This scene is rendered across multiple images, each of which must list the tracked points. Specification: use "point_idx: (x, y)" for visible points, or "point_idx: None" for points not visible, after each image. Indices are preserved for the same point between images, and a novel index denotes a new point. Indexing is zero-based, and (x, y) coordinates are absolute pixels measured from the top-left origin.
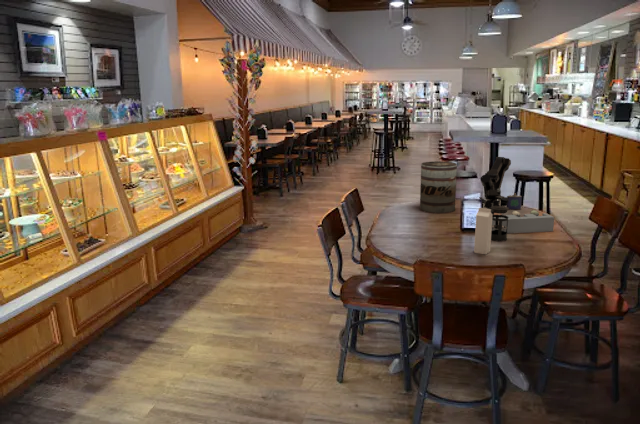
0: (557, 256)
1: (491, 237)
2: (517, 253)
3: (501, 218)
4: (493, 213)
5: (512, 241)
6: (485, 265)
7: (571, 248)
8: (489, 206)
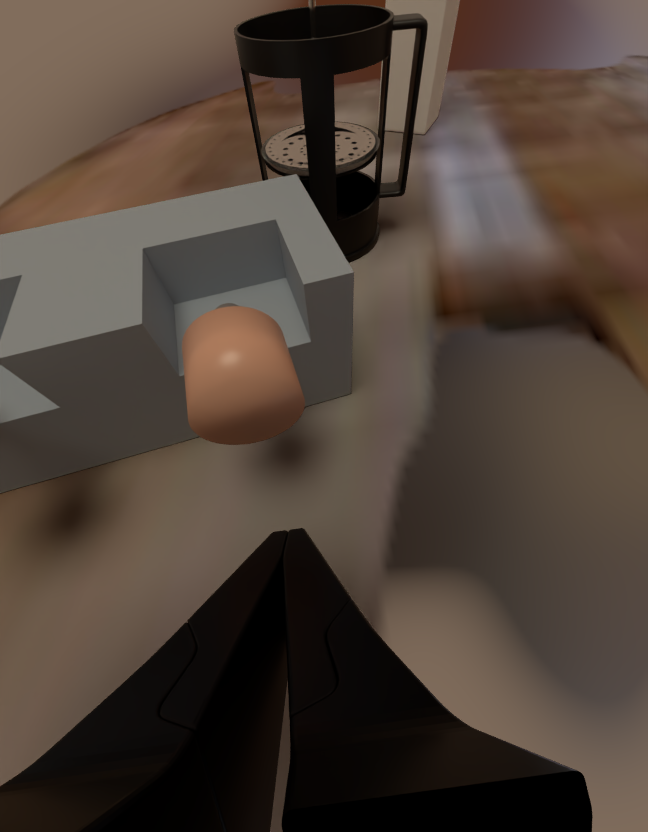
0: (148, 137)
1: (364, 200)
2: None
3: (250, 208)
4: (279, 531)
5: None
6: None
7: (31, 191)
8: (385, 647)
